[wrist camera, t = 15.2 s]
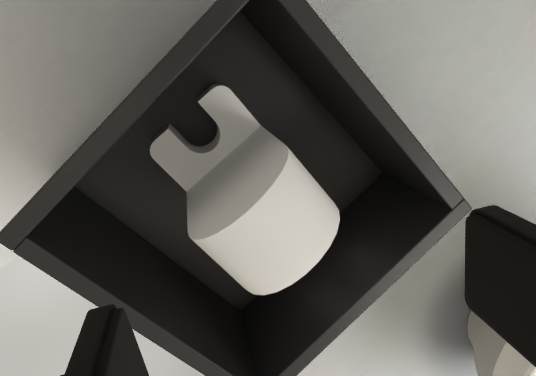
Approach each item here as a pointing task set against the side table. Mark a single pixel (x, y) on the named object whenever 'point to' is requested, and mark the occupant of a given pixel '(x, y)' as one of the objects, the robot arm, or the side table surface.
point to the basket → (175, 198)
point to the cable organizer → (248, 197)
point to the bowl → (495, 352)
